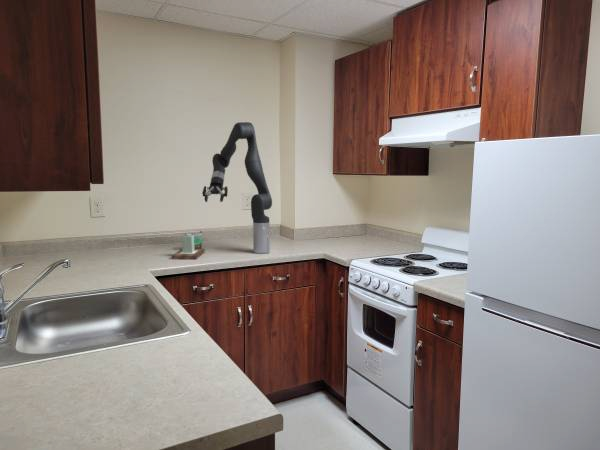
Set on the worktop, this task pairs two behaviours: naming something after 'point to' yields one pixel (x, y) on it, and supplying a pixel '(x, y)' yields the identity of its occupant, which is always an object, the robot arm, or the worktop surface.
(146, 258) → the worktop surface
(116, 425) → the worktop surface
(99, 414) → the worktop surface
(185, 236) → the sage block
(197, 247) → the food container
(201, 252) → the base board
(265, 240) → the robot arm
